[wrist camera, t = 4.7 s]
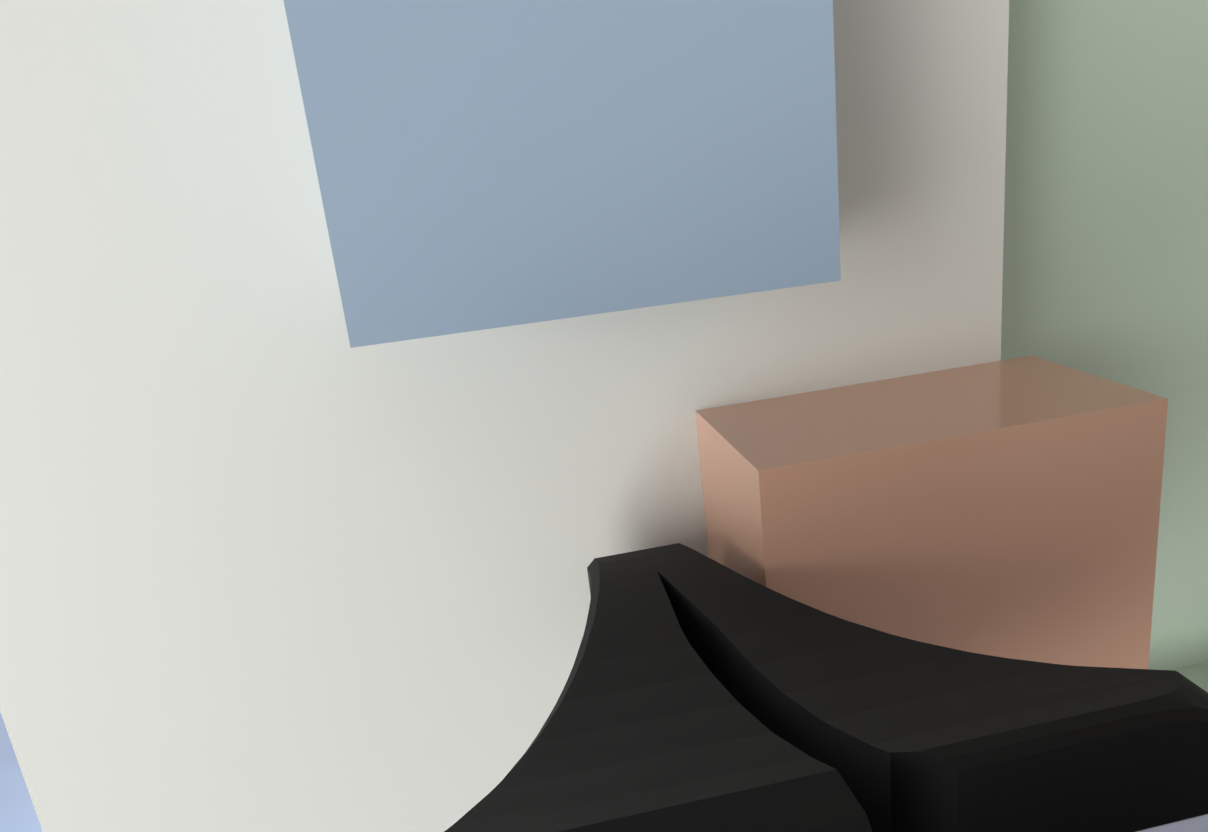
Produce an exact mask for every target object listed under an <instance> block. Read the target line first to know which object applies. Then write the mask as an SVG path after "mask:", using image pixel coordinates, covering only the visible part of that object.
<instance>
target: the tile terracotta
mask: <svg viewBox="0 0 1208 832" xmlns="http://www.w3.org/2000/svg"><path fill="white" fill-rule="evenodd" d="M1167 407H1168V399H1167V398H1164V397H1161V396H1158V395H1155V394H1152V393H1149V392H1145V391H1142V390H1139V389H1136V388H1133V387H1130V386H1127V385H1123V384H1120V383H1117V382H1114V381H1111V380H1108V379H1105V378H1101V377H1098V376H1095V375H1092V374H1089V373H1086V372H1083V371H1080V370H1076V369H1073V368H1070V367H1067V366H1064V365H1061V364H1058V363H1054V362H1051V361H1048V360H1045V359H1042V358H1039V357H1036V356H1032V355H1031V356H1025V357H1019V358H1013V359H1006V360H1000V361H994V362H988V363H982V364H976V365H970V366H964V367H958V368H952V369H946V370H939V371H933V372H927V373H921V374H915V375H909V376H903V377H897V378H891V379H885V380H879V381H873V382H866V383H860V384H854V385H848V386H842V387H836V388H830V389H824V390H818V391H812V392H806V393H799V394H793V395H787V396H781V397H775V398H769V399H763V400H757V401H751V402H745V403H739V404H732V405H726V406H720V407H714V408H708V409H702V410H696V411H695V413H696V424H697V436H698V447H699V458H700V470H701V481H702V492H703V503H704V515H705V526H706V537H707V548H708V557H709V558H711V559H713V560H714V561H716V562H718V563H720V564H722V565H724V566H726V567H728V568H730V569H731V570H733V571H735V572H737V573H739V574H741V575H743V576H745V577H747V578H749V579H751V580H753V581H755V582H757V583H759V584H761V585H763V586H765V587H767V588H769V589H771V590H773V591H776V592H778V593H780V594H782V595H784V596H787V597H789V598H791V599H793V600H796V601H798V602H801V603H803V604H805V605H808V606H810V607H813V608H815V609H818V610H820V611H822V612H825V613H827V614H830V615H833V616H836V617H838V618H841V619H844V620H847V621H850V622H853V623H856V624H860V625H863V626H866V627H869V628H872V629H876V630H879V631H882V632H885V633H889V634H892V635H896V636H900V637H903V638H907V639H911V640H915V641H919V642H924V643H929V644H933V645H938V646H943V647H948V648H952V649H957V650H962V651H966V652H972V653H978V654H984V655H991V656H997V657H1003V658H1010V659H1019V660H1027V661H1035V662H1044V663H1052V664H1060V665H1072V666H1089V667H1110V668H1130V669H1148V666H1149V653H1150V639H1151V625H1152V612H1153V598H1154V585H1155V571H1156V557H1157V544H1158V530H1159V516H1160V503H1161V489H1162V476H1163V462H1164V448H1165V435H1166V421H1167Z"/></svg>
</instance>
